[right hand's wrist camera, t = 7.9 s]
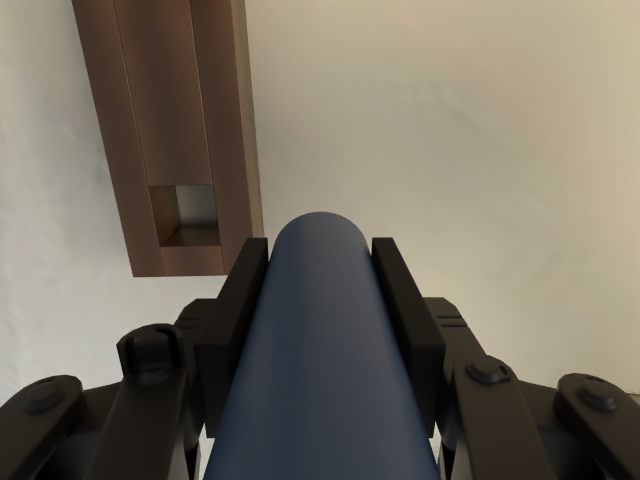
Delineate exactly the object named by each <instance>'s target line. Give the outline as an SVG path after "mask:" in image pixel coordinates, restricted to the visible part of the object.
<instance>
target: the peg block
mask: <svg viewBox="0 0 640 480" xmlns="http://www.w3.org/2000/svg"><path fill="white" fill-rule="evenodd" d="M72 4H73V8H74V13H75V17H76V22H77V26H78V31H79V35H80V40H81V44H82V49H83V53H84V58H85V62H86V67H87V71H88V76H89V80H90V85H91V89H92V94H93V98H94V103H95V107H96V112H97V116H98V121H99V125H100V130H101V134H102V139H103V143H104V148H105V152H106V157H107V161H108V166H109V170H110V175H111V179H112V184H113V188H114V193H115V197H116V202H117V206H118V211H119V215H120V220H121V224H122V229H123V233H124V238H125V242H126V247H127V251H128V256H129V260H130V265H131V269H132V274H133V277H171V276H217V275H229V273H230V271H231V269H232V267H233V265H234V263H235V261H236V259H237V257H238V255H239V253H240V251H241V249H242V247H243V245H244V243H245V241H246V239H247V238H264V229H263V217H262V205H261V193H260V181H259V169H258V157H257V145H256V133H255V121H254V109H253V97H252V85H251V73H250V61H249V49H248V37H247V25H246V13H245V1H244V0H72ZM209 184H213V187H214V195H215V203H216V211H217V219H218V226H190V227H181V221H180V215H179V209H178V203H177V196H176V190H175V185H209Z"/></svg>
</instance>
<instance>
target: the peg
mask: <svg viewBox="0 0 640 480" xmlns="http://www.w3.org/2000/svg"><path fill="white" fill-rule="evenodd" d="M203 480H442V479H441V476H440V473H439V470H438V467H437V464H436V460H435V457H434V454H433V451H432V448H431V445H430V441H429V438H428V435H427V432H426V429H425V426H424V422H423V419H422V416H421V413H420V410H419V407H418V403H417V400H416V397H415V394H414V391H413V388H412V384H411V381H410V378H409V375H408V372H407V369H406V365H405V362H404V359H403V356H402V353H401V350H400V346H399V343H398V340H397V337H396V334H395V331H394V327H393V324H392V321H391V318H390V315H389V312H388V308H387V305H386V302H385V299H384V296H383V293H382V289H381V286H380V283H379V280H378V277H377V274H376V270H375V267H374V264H373V261H372V258H371V255H370V251H369V248H368V245H367V242H366V239H365V237H364V235H363V234H362V232H361V231H360V230H359V229H358V227H357V226H356V225H355V224H353V223H352V222H351V221H349V220H348V219H346V218H344V217H342V216H340V215H337V214H334V213H329V212H313V213H307V214H304V215H301V216H299V217H297V218H295V219H294V220H292V221H291V222H289V223H288V224H287V225H286V226H285V227H284V228H283V229H282V230H281V232H280V233H279V235H278V237H277V239H276V241H275V244H274V247H273V250H272V253H271V257H270V260H269V263H268V267H267V270H266V273H265V276H264V280H263V283H262V286H261V290H260V293H259V296H258V299H257V303H256V306H255V309H254V313H253V316H252V319H251V322H250V326H249V329H248V332H247V336H246V339H245V342H244V345H243V349H242V352H241V355H240V358H239V362H238V365H237V368H236V372H235V375H234V378H233V381H232V385H231V388H230V391H229V395H228V398H227V401H226V404H225V408H224V411H223V414H222V418H221V421H220V424H219V427H218V431H217V434H216V437H215V441H214V444H213V447H212V450H211V454H210V457H209V460H208V464H207V467H206V470H205V473H204V477H203Z"/></svg>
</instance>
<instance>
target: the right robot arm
mask: <svg viewBox="0 0 640 480" xmlns="http://www.w3.org/2000/svg"><path fill="white" fill-rule="evenodd" d="M371 258H372V261H373V264H374V267H375V270H376V274H377V277H378V280H379V283H380V286H381V289H382V293H383V296H384V299H385V302H386V305H387V308H388V312H389V315H390V318H391V321H392V324H393V327H394V331H395V334H396V337H397V340H398V343H399V346H400V350H401V353H402V356H403V359H404V362H405V365H406V369H407V372H408V375H409V378H410V381H411V384H412V388H413V391H414V394H415V397H416V400H417V403H418V407H419V410H420V413H421V416H422V419H423V422H424V426H425V429H426V432H427V435H428V438H433V434H434V427H435V421H436V424H437V426H438V429H439V432H440V435H441V444H440V451H439V457H438V463H437V467H438V470H439V473H440V476H441V478H442V480H640V396H637V395H628V394H626V393H625V392H624V391H622V390H621V389H620V388H618V387H617V386H615V385H613V384H611V383H609V382H607V381H605V380H603V379H601V378H598V377H594V376H591V375H588V374H579V373H572V374H567V375H564V376H563V377H562V378H561V379H560V380H559V382H558V386H557V389H555V388H550V387H546V386H541V385H536V384H532V383H528V382H524V381H521V380H518V379H517V376H516V375H515V373H514V372H513V370H512V369H511V368H510V367H509V366H508V365H506V364H505V363H504V362H502V361H501V360H499V359H496V358H494V357H492V356H489V355H486V353H485V352H484V350H483V348H482V347H481V345H480V344H479V342H478V341H477V339H476V338H475V336H474V334H473V333H472V331H471V330H470V328H469V327H468V326H467V323H466V322H465V320H464V319H463V318H462V316H461V314H460V312H459V311H458V309H457V308H456V306H454V305H453V304H452V303H450V302H449V301H447V300H446V299H445V298H443V297H422V295H421V293H420V291H419V289H418V287H417V285H416V284H415V282H414V280H413V278H412V276H411V274H410V272H409V270H408V268H407V266H406V264H405V262H404V260H403V258H402V256H401V254H400V252H399V250H398V248H397V246H396V244H395V242H394V240H393V238H372V254H371ZM268 263H269V258H268V240H267V238H247V239H246V241H245V243H244V245H243V247H242V249H241V251H240V253H239V255H238V257H237V259H236V261H235V263H234V265H233V267H232V269H231V271H230V273H229V275H228V277H227V279H226V281H225V283H224V285H223V287H222V289H221V291H220V293H219V295H218V297H217V299H195V300H194V301H193V302H191V303H190V304H189V305H187V306H186V307H184V309H183V310H182V312H181V314H180V315H179V317H178V320H176V322H175V323H174V325H171V324H167V323H166V324H151V325H146V326H143V327H140V328H138V329H135V330H133V331H131V332H129V333H128V334H126V335H125V336H123V337H122V338H121V339H120V341H119V342H118V343H117V344H116V346H117V350H118V355H119V359H120V363H121V367H122V372H123V376H124V377H123V379H122V381H121V382H117V383H114V384H111V385H106V386H102V387H97V388H92V389H88V390H83V387H82V383H81V381H80V380H79V379H78V378H77V377H75V376H70V375H58V376H51V377H48V378H44V379H41V380H38V381H36V382H34V383H32V384H30V385H28V386H26V387H24V388H23V389H22V390H20V391H19V392H18V393H16V394H15V395H14V396H12V397H11V398H10V399H9V400H8V401H7V402H6V403H5V404H4V405H3V406H2V407H0V480H198V478H199V469H200V459H201V451H200V444H199V436H200V433H201V431H202V428H203V425H204V422H205V429H206V435H207V438H215V437H216V434H217V431H218V427H219V424H220V421H221V418H222V414H223V411H224V408H225V404H226V401H227V398H228V395H229V391H230V388H231V385H232V381H233V378H234V375H235V372H236V368H237V365H238V362H239V358H240V355H241V352H242V349H243V345H244V342H245V339H246V336H247V332H248V329H249V326H250V322H251V319H252V316H253V313H254V309H255V306H256V303H257V299H258V296H259V293H260V290H261V286H262V283H263V280H264V276H265V273H266V270H267V267H268Z"/></svg>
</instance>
